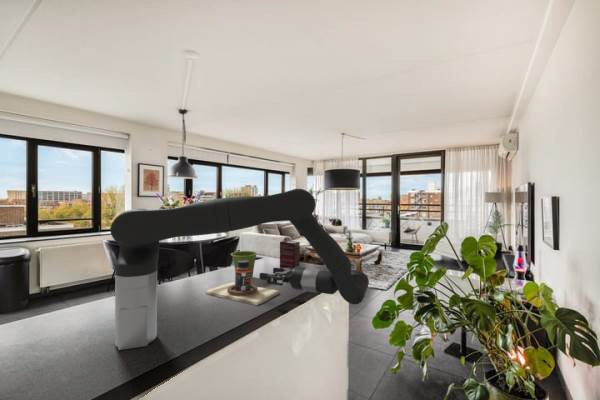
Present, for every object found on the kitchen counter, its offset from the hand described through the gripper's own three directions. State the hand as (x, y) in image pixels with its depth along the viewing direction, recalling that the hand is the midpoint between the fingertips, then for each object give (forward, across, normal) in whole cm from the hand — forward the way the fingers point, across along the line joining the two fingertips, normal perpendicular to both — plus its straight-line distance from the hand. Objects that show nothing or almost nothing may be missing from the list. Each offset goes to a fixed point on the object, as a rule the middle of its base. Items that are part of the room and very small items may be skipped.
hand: (267, 273), depth 104 cm
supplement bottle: (+11, 0, +8) cm, 14 cm away
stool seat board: (+11, 0, +9) cm, 14 cm away
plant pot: (+24, -17, +10) cm, 31 cm away
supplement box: (+8, -31, +10) cm, 34 cm away
